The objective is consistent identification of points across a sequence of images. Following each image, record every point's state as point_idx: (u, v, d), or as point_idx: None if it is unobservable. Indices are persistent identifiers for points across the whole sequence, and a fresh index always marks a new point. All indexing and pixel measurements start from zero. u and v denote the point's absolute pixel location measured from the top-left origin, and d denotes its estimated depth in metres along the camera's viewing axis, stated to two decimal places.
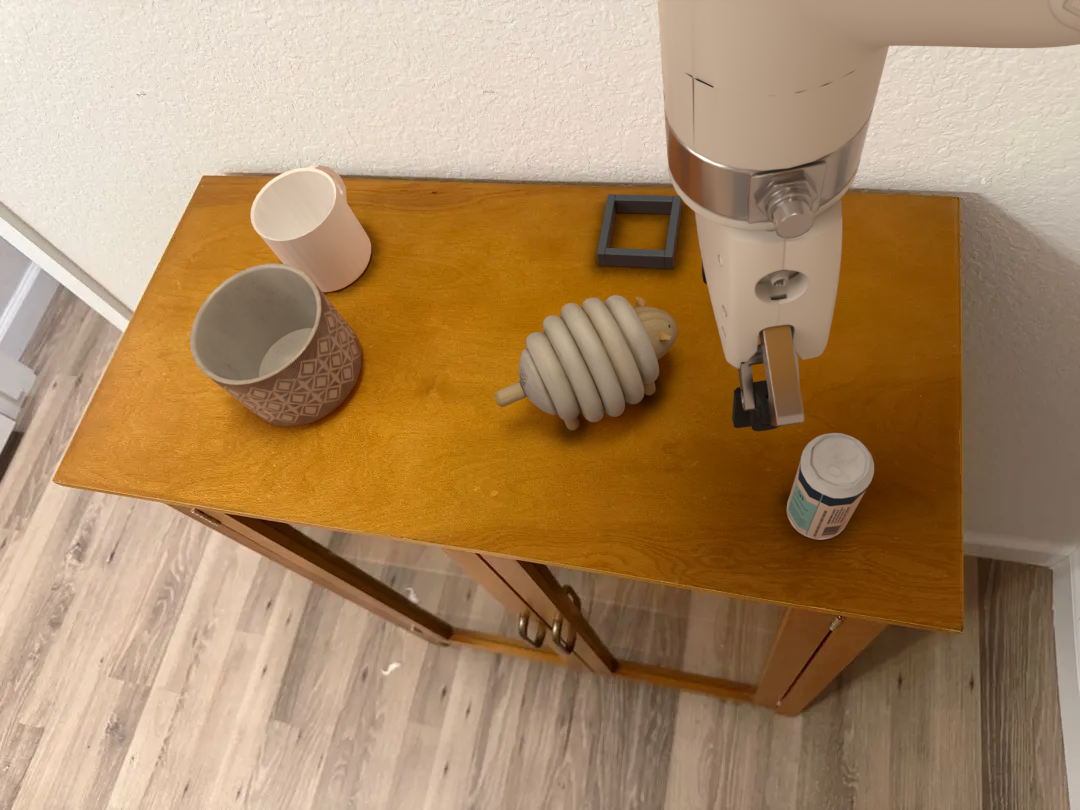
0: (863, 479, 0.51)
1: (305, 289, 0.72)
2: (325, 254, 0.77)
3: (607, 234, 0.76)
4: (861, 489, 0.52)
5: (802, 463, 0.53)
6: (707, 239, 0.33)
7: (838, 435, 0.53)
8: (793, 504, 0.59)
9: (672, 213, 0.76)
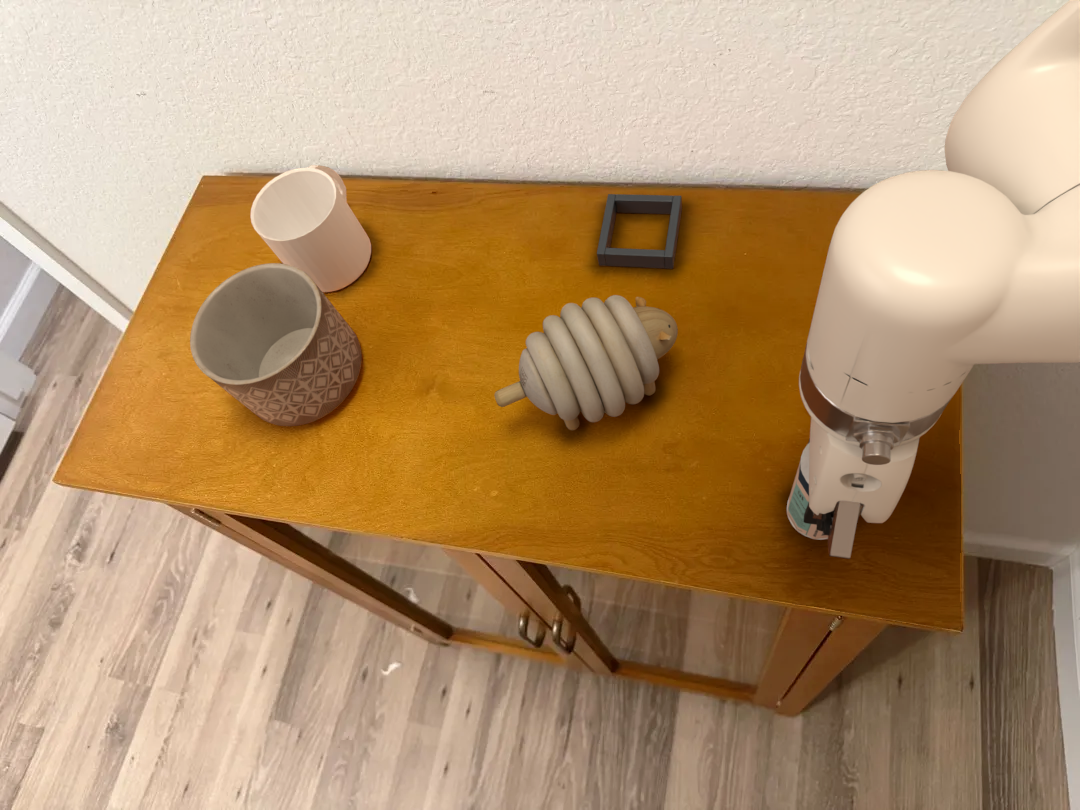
0: None
1: (305, 289, 0.72)
2: (325, 254, 0.77)
3: (607, 234, 0.76)
4: None
5: (802, 463, 0.53)
6: (816, 427, 0.44)
7: None
8: (793, 504, 0.59)
9: (672, 213, 0.76)
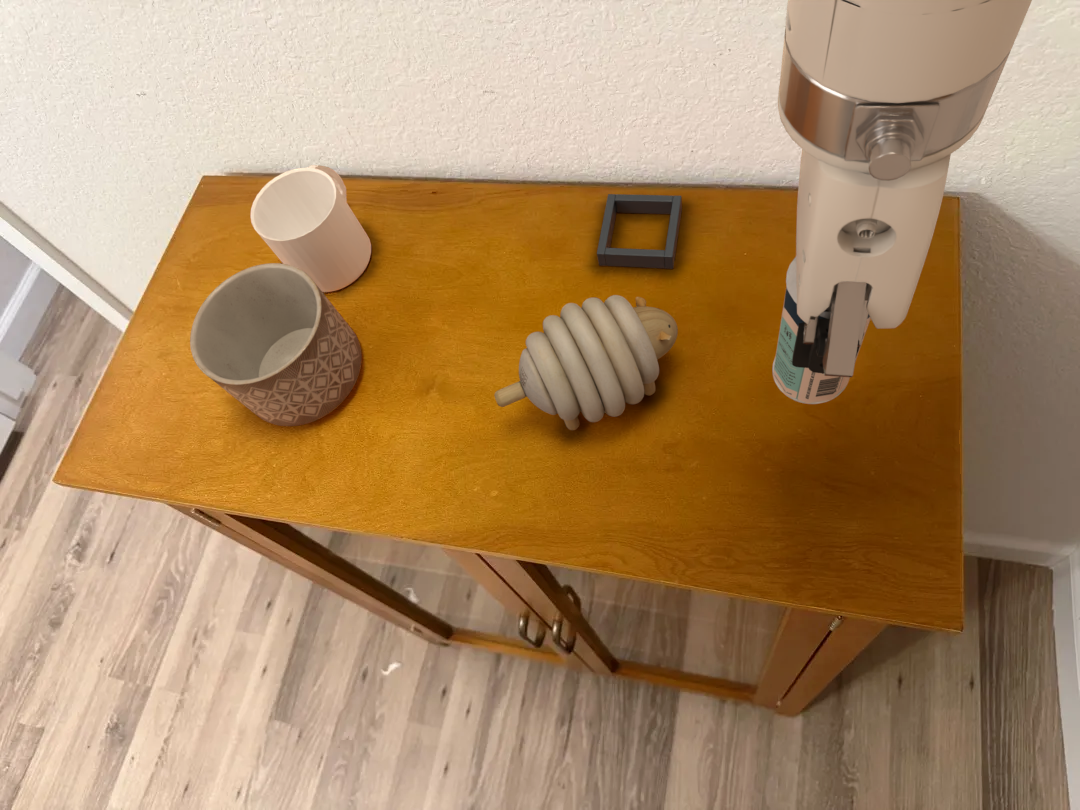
0: None
1: (305, 289, 0.72)
2: (325, 254, 0.77)
3: (607, 234, 0.76)
4: None
5: (788, 279, 0.41)
6: (803, 177, 0.32)
7: None
8: (779, 354, 0.47)
9: (672, 213, 0.76)
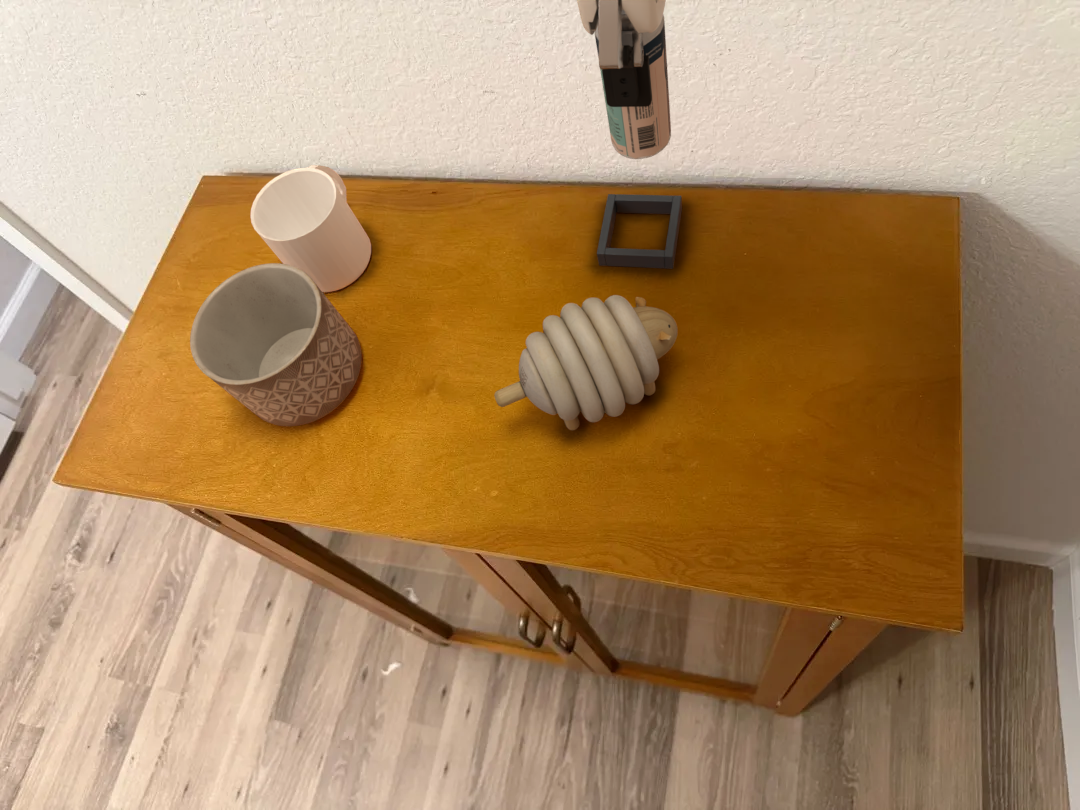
0: None
1: (305, 289, 0.72)
2: (325, 254, 0.77)
3: (607, 234, 0.76)
4: (649, 38, 0.52)
5: None
6: None
7: None
8: (608, 111, 0.59)
9: (672, 213, 0.76)
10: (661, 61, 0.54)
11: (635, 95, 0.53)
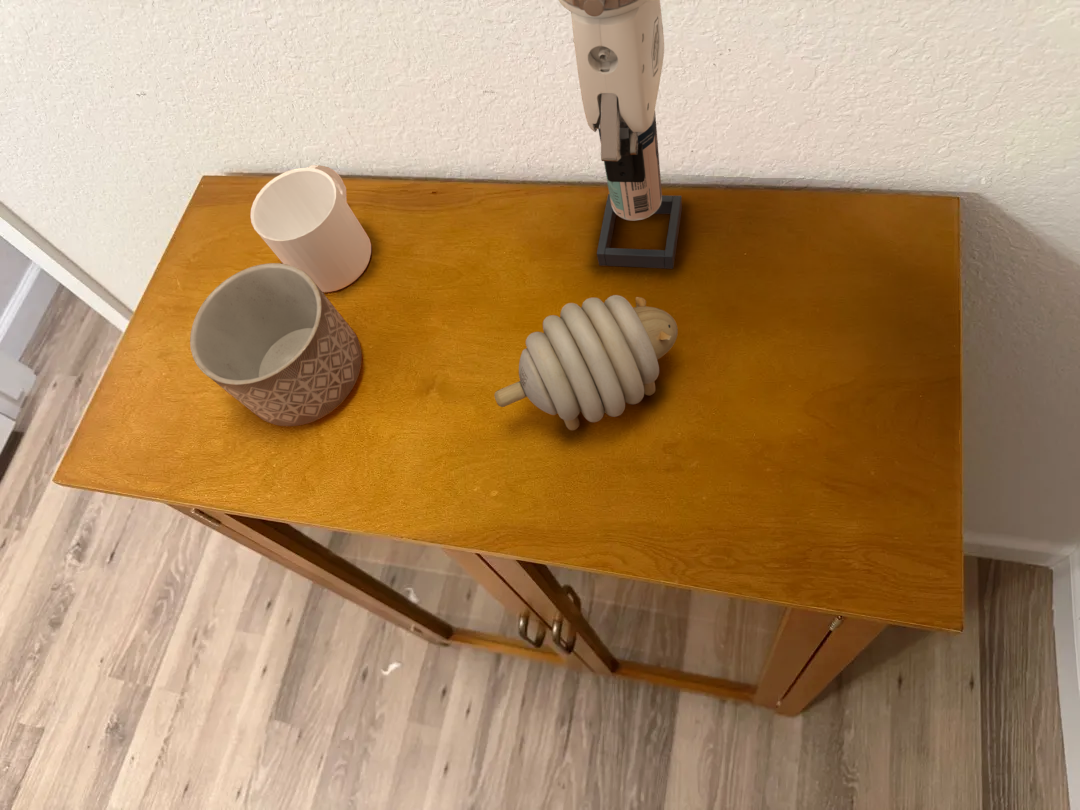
0: None
1: (305, 289, 0.72)
2: (325, 254, 0.77)
3: (607, 234, 0.76)
4: None
5: None
6: None
7: None
8: (608, 181, 0.70)
9: (672, 213, 0.76)
10: (653, 146, 0.65)
11: (631, 175, 0.64)
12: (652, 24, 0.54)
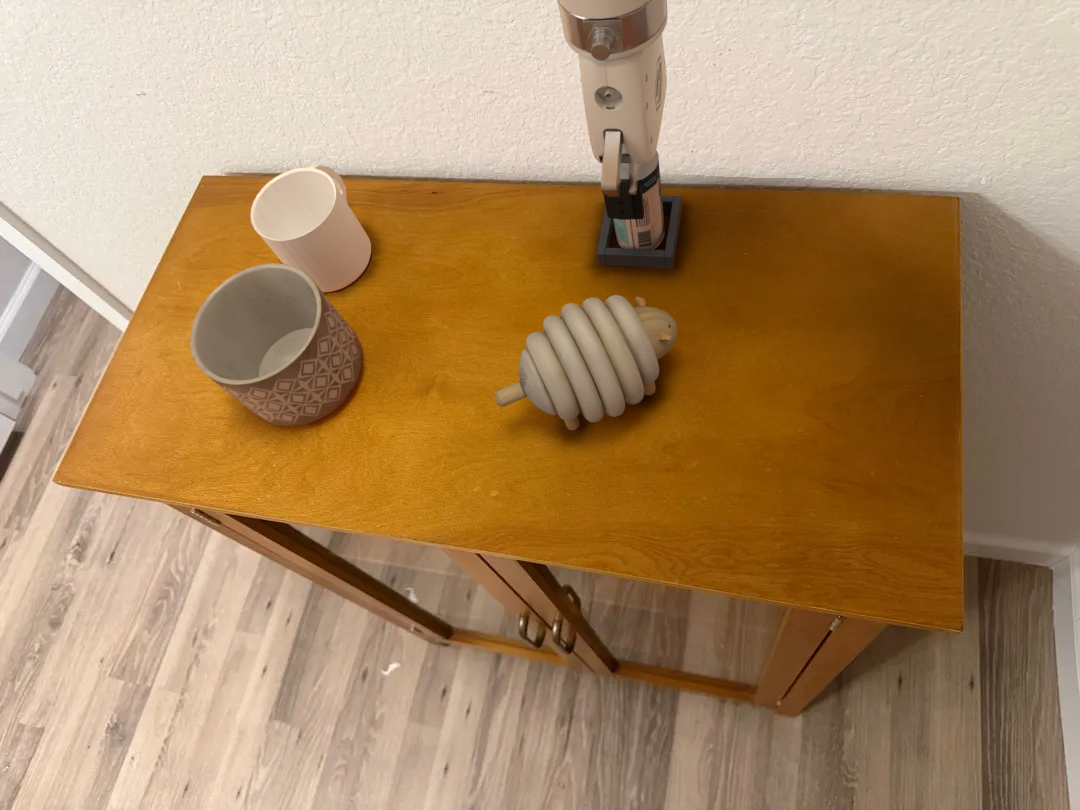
0: (646, 164, 0.66)
1: (305, 289, 0.72)
2: (325, 254, 0.77)
3: (607, 234, 0.76)
4: (646, 174, 0.67)
5: None
6: None
7: None
8: None
9: (672, 213, 0.76)
10: (656, 187, 0.69)
11: (631, 213, 0.65)
12: (655, 64, 0.57)
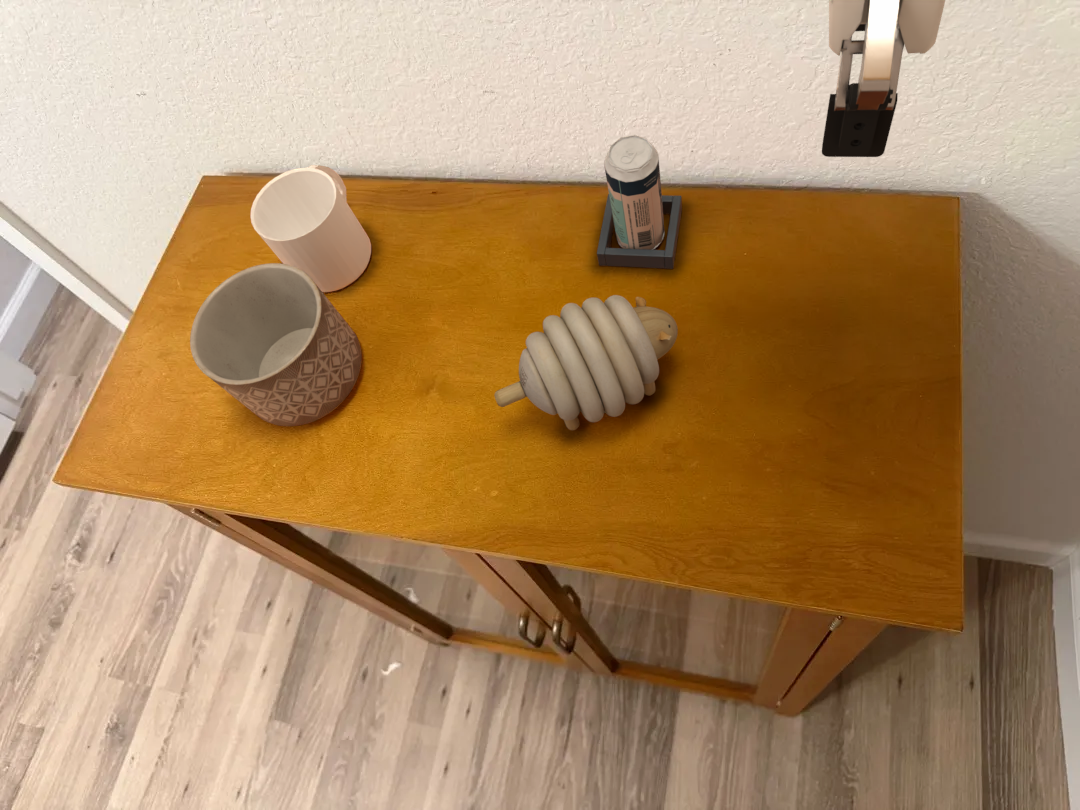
0: (646, 164, 0.66)
1: (305, 289, 0.72)
2: (325, 254, 0.77)
3: (607, 234, 0.76)
4: (646, 174, 0.67)
5: (605, 160, 0.68)
6: None
7: (632, 137, 0.68)
8: (614, 217, 0.74)
9: (672, 213, 0.76)
10: (656, 187, 0.69)
11: (870, 144, 0.41)
12: None
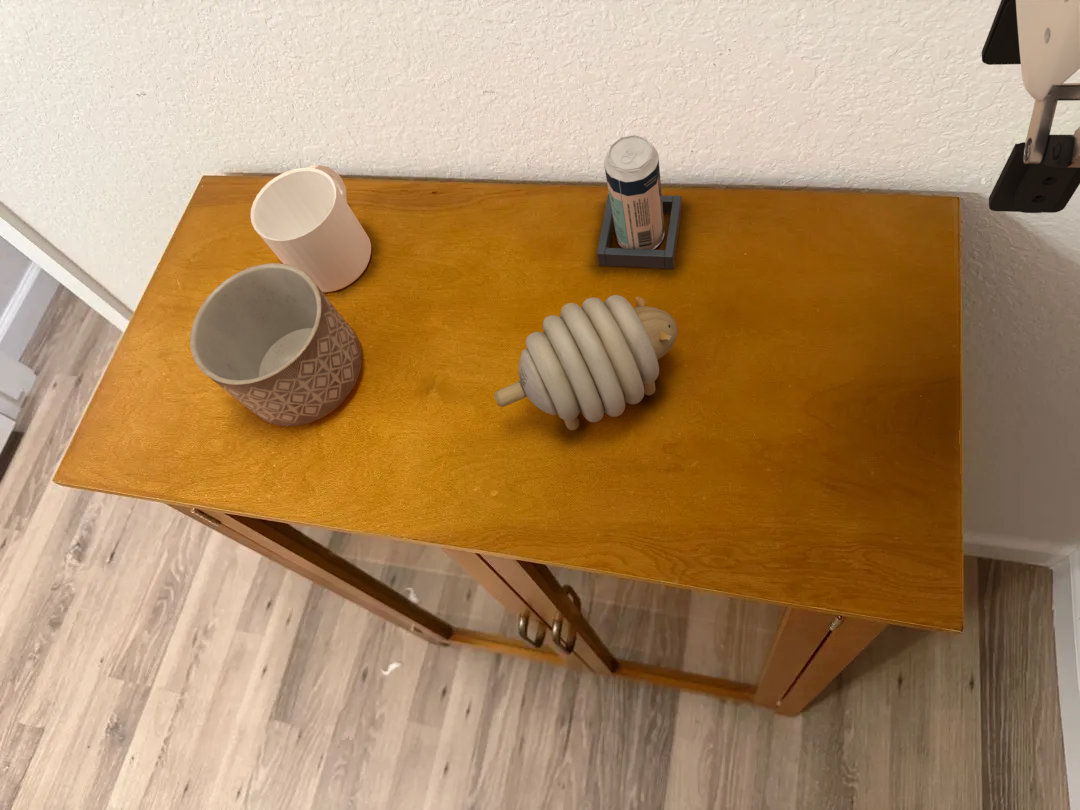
0: (646, 164, 0.66)
1: (305, 289, 0.72)
2: (325, 254, 0.77)
3: (607, 234, 0.76)
4: (646, 174, 0.67)
5: (605, 160, 0.68)
6: None
7: (632, 137, 0.68)
8: (614, 217, 0.74)
9: (672, 213, 0.76)
10: (656, 187, 0.69)
11: (1055, 200, 0.35)
12: None
